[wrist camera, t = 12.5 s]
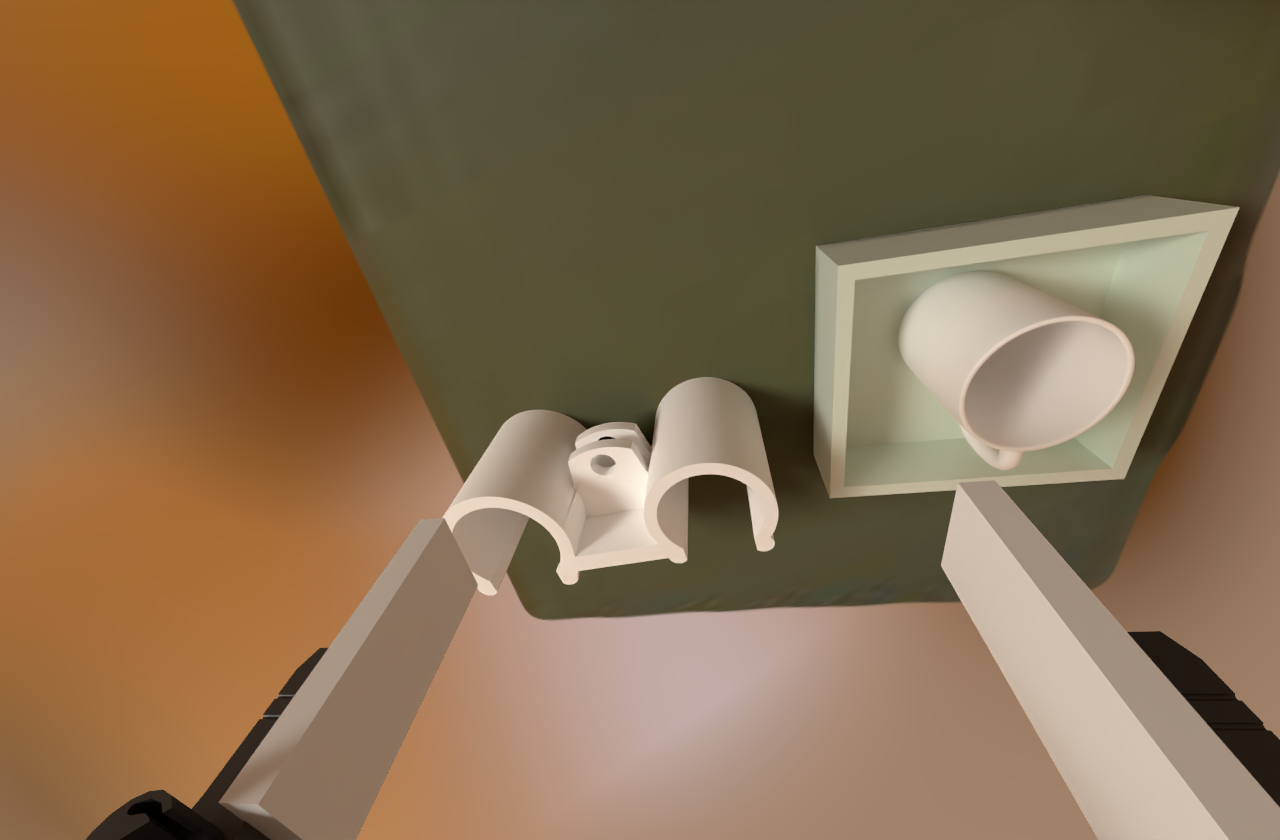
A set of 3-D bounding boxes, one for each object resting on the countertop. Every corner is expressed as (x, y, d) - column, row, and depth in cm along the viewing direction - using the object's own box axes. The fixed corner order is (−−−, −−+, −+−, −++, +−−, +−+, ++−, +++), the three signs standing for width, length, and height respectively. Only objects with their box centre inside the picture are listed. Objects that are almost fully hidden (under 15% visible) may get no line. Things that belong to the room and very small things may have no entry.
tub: (815, 245, 33) (838, 265, 28) (1146, 194, 30) (1239, 207, 25) (813, 454, 42) (829, 498, 37) (1067, 433, 39) (1124, 478, 34)
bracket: (744, 358, 38) (763, 441, 28) (765, 454, 43) (788, 555, 33) (477, 422, 44) (411, 509, 34) (520, 500, 49) (473, 598, 38)
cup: (1029, 255, 32) (1155, 300, 23) (1006, 408, 37) (1100, 490, 29) (895, 282, 33) (966, 334, 25) (893, 425, 39) (950, 507, 30)
